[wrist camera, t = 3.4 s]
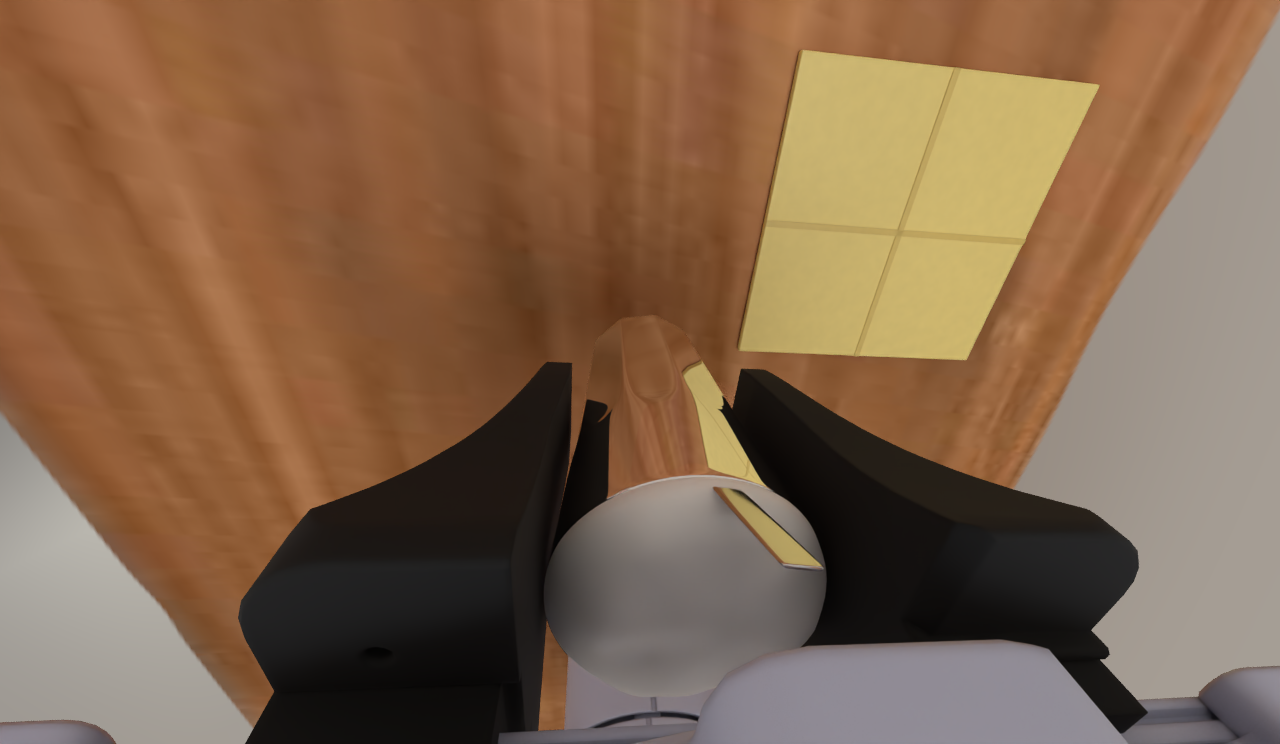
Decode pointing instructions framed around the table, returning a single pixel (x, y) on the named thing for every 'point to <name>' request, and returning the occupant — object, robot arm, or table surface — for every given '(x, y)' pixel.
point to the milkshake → (673, 528)
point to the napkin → (901, 204)
